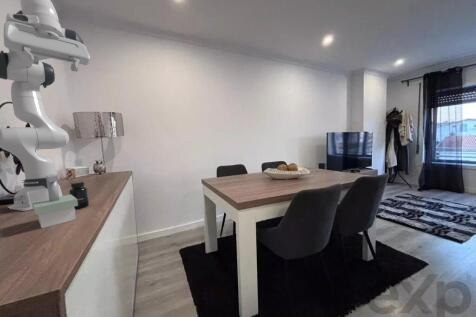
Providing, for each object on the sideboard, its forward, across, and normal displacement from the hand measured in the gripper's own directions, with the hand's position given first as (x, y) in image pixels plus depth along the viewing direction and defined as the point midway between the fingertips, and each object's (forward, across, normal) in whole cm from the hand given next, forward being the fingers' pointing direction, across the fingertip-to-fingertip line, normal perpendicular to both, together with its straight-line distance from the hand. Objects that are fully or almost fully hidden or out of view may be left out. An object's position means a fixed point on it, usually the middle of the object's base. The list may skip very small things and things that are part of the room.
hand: (56, 66), depth 63 cm
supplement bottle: (+32, -9, -55) cm, 65 cm away
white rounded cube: (+38, +2, -44) cm, 58 cm away
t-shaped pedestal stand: (+33, +2, -42) cm, 53 cm away
